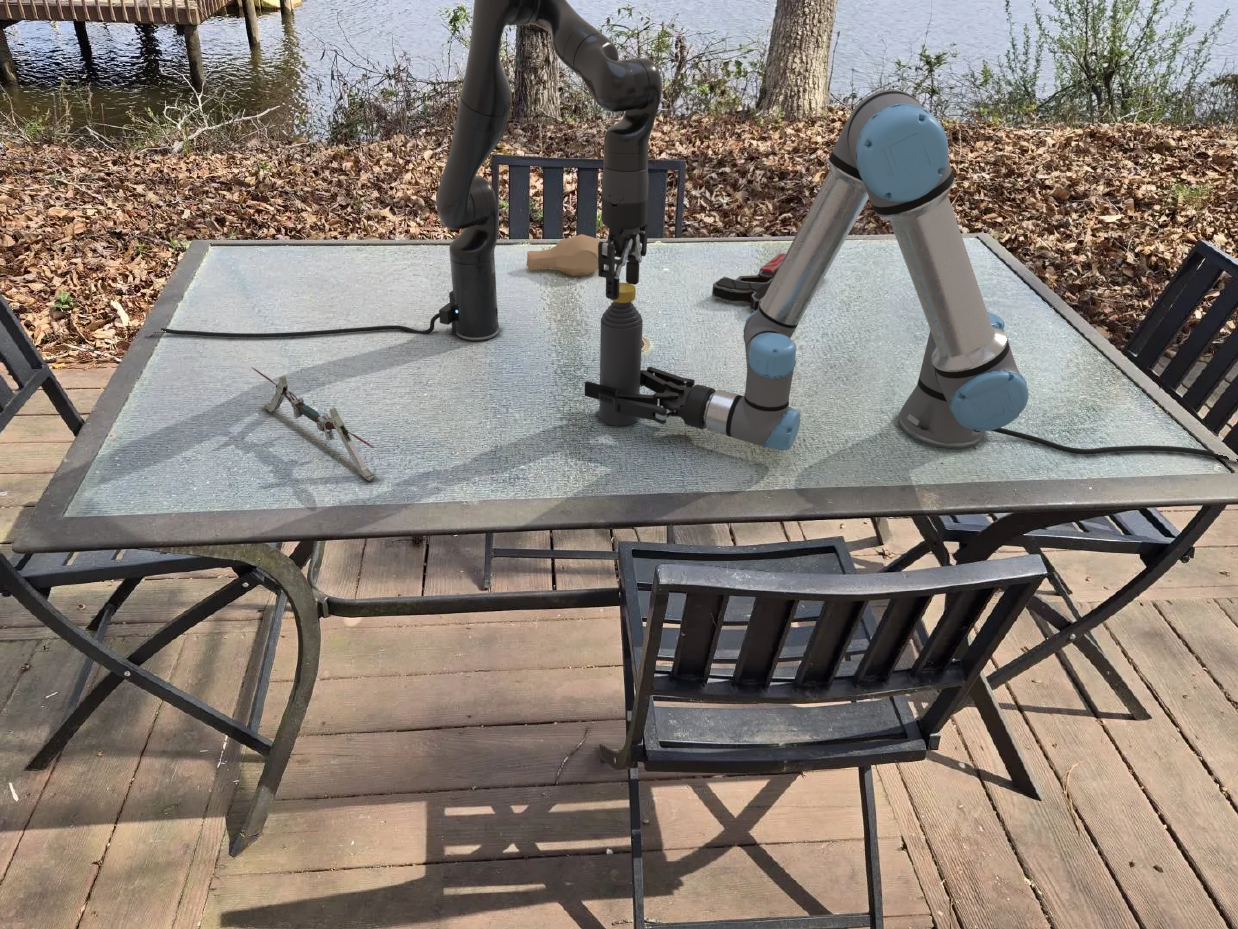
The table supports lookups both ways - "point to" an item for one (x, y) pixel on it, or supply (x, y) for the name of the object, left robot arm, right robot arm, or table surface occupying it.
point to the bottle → (620, 357)
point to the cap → (626, 293)
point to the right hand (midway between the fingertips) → (596, 379)
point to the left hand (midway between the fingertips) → (622, 290)
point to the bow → (319, 423)
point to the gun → (748, 285)
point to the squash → (568, 256)
